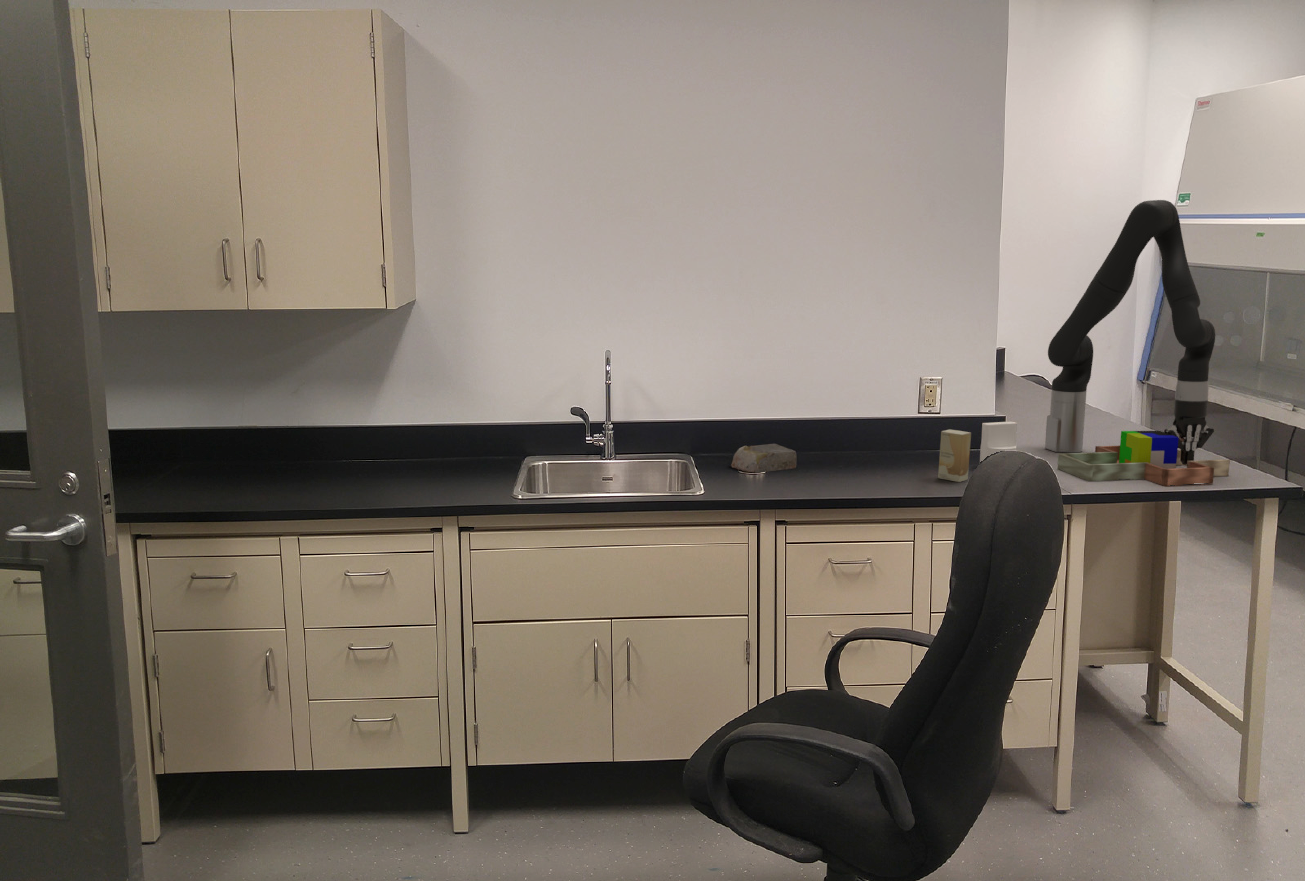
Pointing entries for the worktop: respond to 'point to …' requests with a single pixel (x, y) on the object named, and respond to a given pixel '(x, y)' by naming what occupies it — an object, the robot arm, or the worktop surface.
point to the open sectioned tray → (1138, 468)
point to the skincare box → (954, 455)
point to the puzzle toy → (1149, 448)
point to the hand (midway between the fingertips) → (1186, 464)
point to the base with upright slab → (997, 438)
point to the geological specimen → (764, 458)
